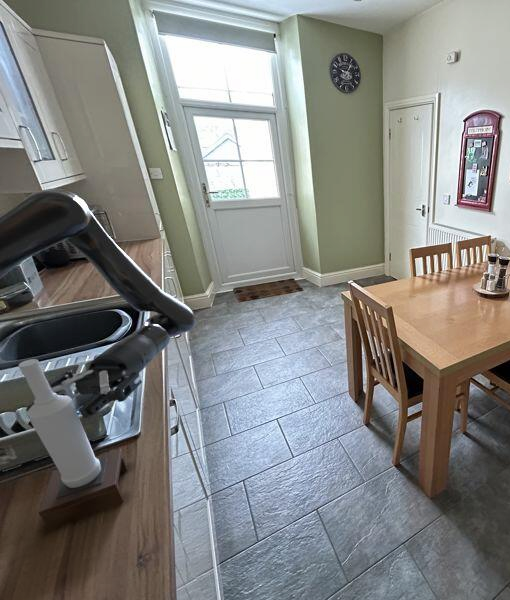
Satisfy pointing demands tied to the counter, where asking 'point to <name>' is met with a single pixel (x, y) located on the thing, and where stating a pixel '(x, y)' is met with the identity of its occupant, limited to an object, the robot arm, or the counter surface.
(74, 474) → the bottle
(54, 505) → the dark wooden pedestal
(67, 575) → the counter surface
